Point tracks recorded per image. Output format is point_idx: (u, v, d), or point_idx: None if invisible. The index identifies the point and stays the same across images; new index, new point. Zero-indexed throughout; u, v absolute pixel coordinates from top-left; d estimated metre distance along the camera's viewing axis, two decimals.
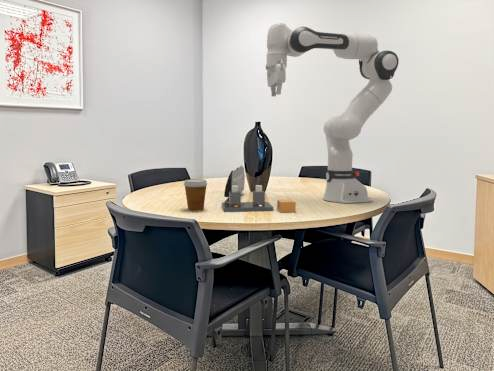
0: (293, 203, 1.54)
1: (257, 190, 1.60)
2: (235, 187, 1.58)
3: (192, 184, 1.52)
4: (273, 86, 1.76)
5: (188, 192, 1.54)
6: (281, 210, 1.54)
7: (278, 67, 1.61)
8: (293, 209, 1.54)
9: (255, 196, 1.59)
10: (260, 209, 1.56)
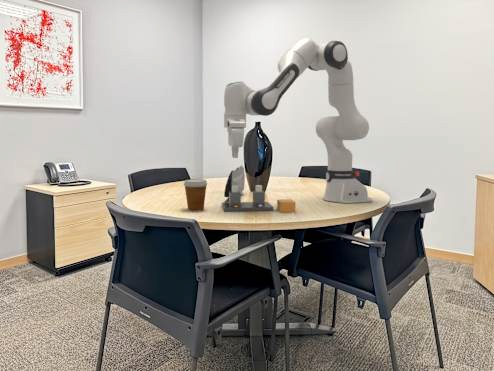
0: (293, 203, 1.54)
1: (257, 190, 1.60)
2: (235, 187, 1.58)
3: (192, 184, 1.52)
4: None
5: (188, 192, 1.54)
6: (281, 210, 1.54)
7: None
8: (293, 209, 1.54)
9: (255, 196, 1.59)
10: (260, 209, 1.56)
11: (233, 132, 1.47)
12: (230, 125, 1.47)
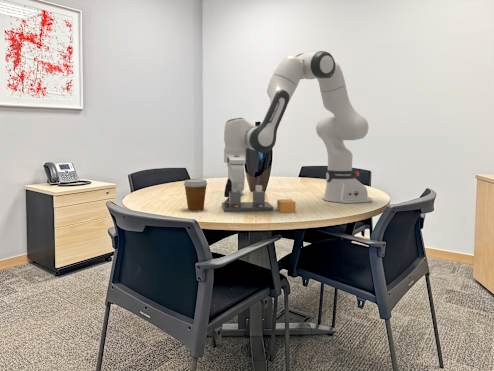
0: (293, 203, 1.54)
1: (257, 190, 1.60)
2: None
3: (192, 184, 1.52)
4: None
5: (188, 192, 1.54)
6: (281, 210, 1.54)
7: None
8: (293, 209, 1.54)
9: (255, 196, 1.59)
10: (260, 209, 1.56)
11: (233, 169, 1.49)
12: (230, 162, 1.49)
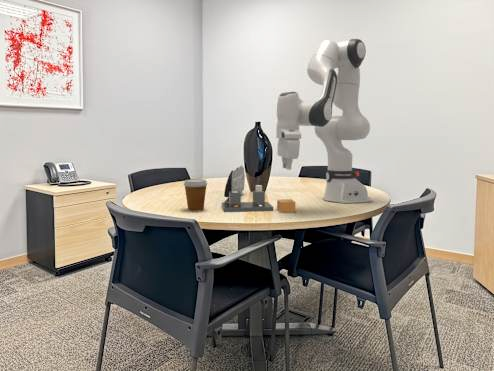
0: (293, 203, 1.54)
1: (257, 190, 1.60)
2: None
3: (192, 184, 1.52)
4: None
5: (188, 192, 1.54)
6: (281, 210, 1.54)
7: None
8: (293, 209, 1.54)
9: (255, 196, 1.59)
10: (260, 209, 1.56)
11: (289, 143, 1.44)
12: (286, 136, 1.44)
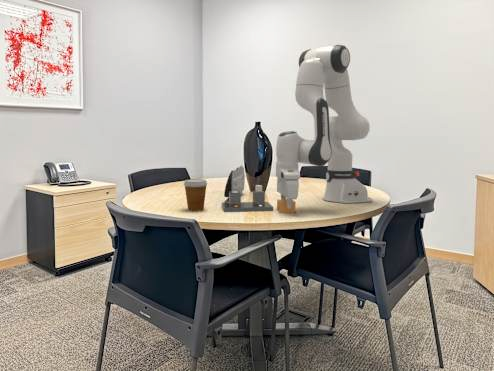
0: (293, 203, 1.54)
1: (257, 190, 1.60)
2: None
3: (192, 184, 1.52)
4: None
5: (188, 192, 1.54)
6: (281, 210, 1.54)
7: None
8: (293, 209, 1.54)
9: (255, 196, 1.59)
10: (260, 209, 1.56)
11: (288, 184, 1.46)
12: (285, 177, 1.46)
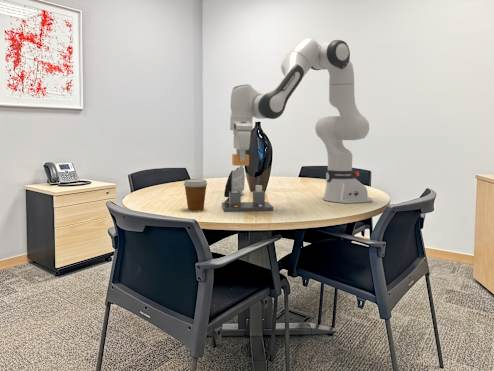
0: (247, 156, 1.54)
1: (257, 190, 1.60)
2: None
3: (192, 184, 1.52)
4: None
5: (188, 192, 1.54)
6: (235, 163, 1.54)
7: None
8: (247, 162, 1.55)
9: (255, 196, 1.59)
10: (260, 209, 1.56)
11: (240, 135, 1.46)
12: (237, 128, 1.47)
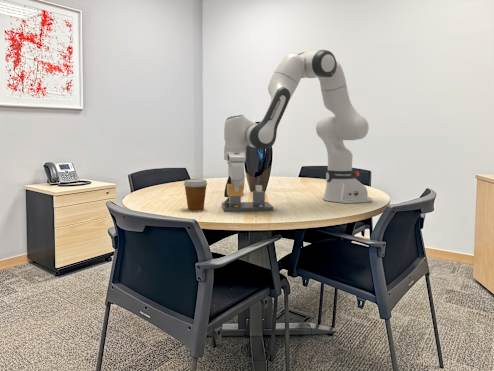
0: (241, 187, 1.57)
1: (257, 190, 1.60)
2: None
3: (192, 184, 1.52)
4: None
5: (188, 192, 1.54)
6: (229, 194, 1.57)
7: None
8: (241, 193, 1.57)
9: (255, 196, 1.59)
10: (260, 209, 1.56)
11: (233, 166, 1.49)
12: (230, 159, 1.49)
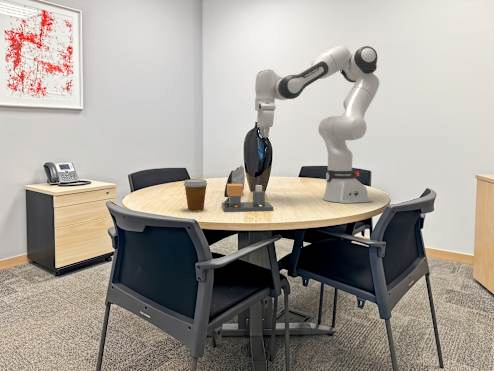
0: (241, 187, 1.57)
1: (257, 190, 1.60)
2: None
3: (192, 184, 1.52)
4: None
5: (188, 192, 1.54)
6: (229, 194, 1.57)
7: None
8: (241, 193, 1.57)
9: (255, 196, 1.59)
10: (260, 209, 1.56)
11: (264, 113, 1.68)
12: (262, 107, 1.68)
